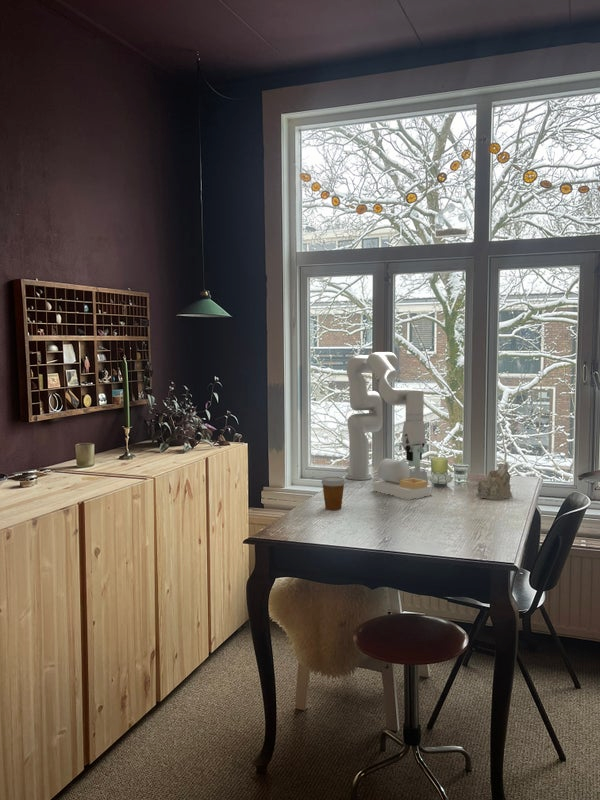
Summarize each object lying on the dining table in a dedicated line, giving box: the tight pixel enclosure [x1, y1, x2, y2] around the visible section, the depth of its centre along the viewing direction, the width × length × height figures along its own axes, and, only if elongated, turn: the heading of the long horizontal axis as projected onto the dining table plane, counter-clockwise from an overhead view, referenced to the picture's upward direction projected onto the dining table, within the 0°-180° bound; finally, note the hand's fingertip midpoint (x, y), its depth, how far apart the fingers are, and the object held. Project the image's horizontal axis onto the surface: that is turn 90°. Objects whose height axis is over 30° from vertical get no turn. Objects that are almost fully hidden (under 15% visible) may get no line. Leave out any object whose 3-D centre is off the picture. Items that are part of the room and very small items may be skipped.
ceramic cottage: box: [475, 462, 513, 500], centre depth 288 cm, size 16×16×15 cm
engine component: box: [408, 465, 429, 485], centre depth 311 cm, size 11×20×10 cm
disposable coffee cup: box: [321, 476, 346, 511], centre depth 265 cm, size 10×10×12 cm
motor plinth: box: [372, 457, 433, 500], centre depth 292 cm, size 22×14×14 cm, turn 38°
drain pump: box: [407, 444, 425, 468], centre depth 285 cm, size 8×5×9 cm, turn 38°
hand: (414, 459), depth 286 cm, fingers closed on drain pump, 5 cm apart
